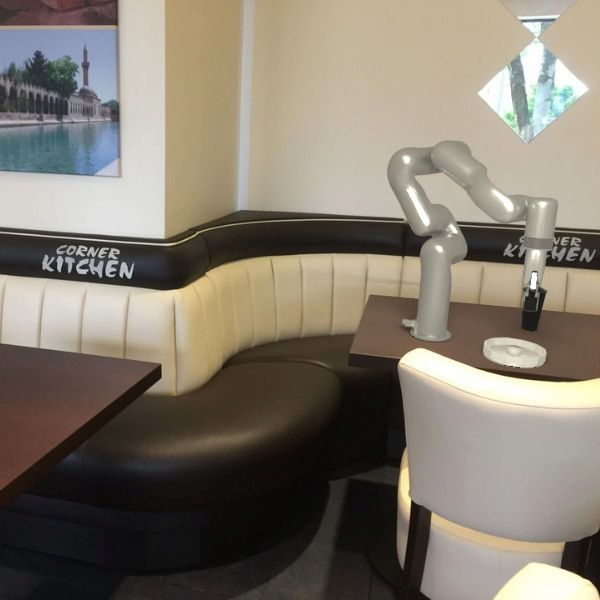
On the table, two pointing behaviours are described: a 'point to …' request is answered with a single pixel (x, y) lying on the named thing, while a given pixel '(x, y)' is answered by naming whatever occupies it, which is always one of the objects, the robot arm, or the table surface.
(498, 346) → the ring tray
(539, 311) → the drinking cup
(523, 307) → the bead
